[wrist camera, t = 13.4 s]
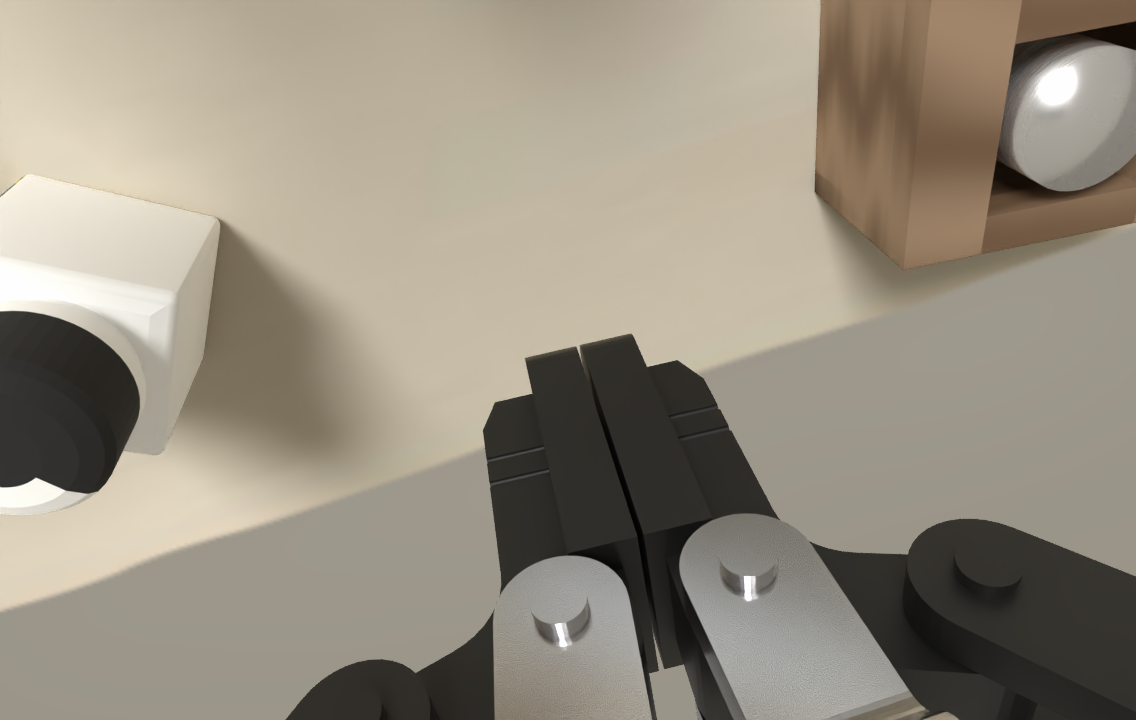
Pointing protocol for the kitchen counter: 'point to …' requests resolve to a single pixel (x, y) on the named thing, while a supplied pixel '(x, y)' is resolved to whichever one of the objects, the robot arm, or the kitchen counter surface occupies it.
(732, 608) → the robot arm
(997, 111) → the wooden spice jar rack
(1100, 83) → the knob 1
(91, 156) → the kitchen counter surface
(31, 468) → the medicine bottle
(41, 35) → the kitchen counter surface
